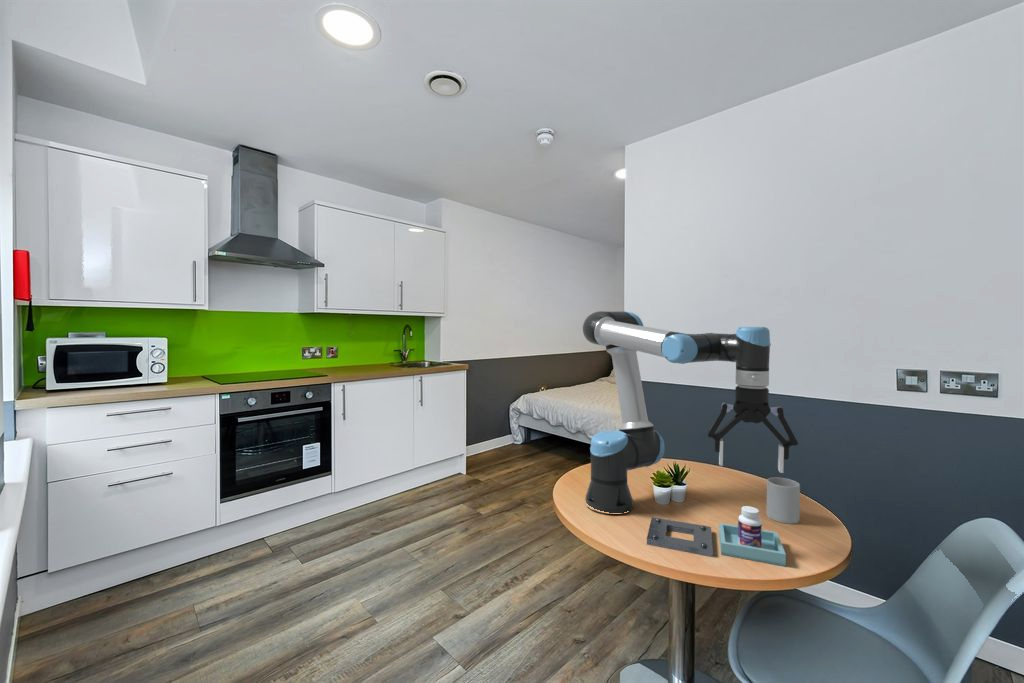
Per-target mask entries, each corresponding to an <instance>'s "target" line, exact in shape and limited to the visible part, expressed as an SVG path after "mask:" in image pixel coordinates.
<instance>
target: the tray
mask: <svg viewBox="0 0 1024 683" xmlns="http://www.w3.org/2000/svg"><path fill="white" fill-rule="evenodd" d="M718 538H719V548H720V555H722V556H726V557H732V558H738V559H744V560H749V561H753V562H760V563H764V564H770V565H775V566H781V567H786V566H787V565H786V562H787V554H786V552H785V549H784V546H783V543H782V542H781V538H780V536H779V534H778V532H777V531H770V530H766V529H762V545H761V548H757V547H751V546H746V545H740V544H738V525H736V524H735V525H734V524H728V523H722V522H719V523H718Z"/></svg>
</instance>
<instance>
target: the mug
mask: <svg viewBox="0 0 1024 683" xmlns="http://www.w3.org/2000/svg"><path fill="white" fill-rule="evenodd" d="M800 503H801V485H800V483H799V482H797V481H796V480H794V479H790V478H785V477H779V476H778V477H777V476H775V477H774V476H772V477H769V478H767V479H766V509H765V510H766V516H767V517H768V518H769V519H770V520H773V521H774V522H777V523H781V524H786V525H793V524H794V525H795V524H799V523H800V520H801V519H800V518H801V514H800V513H801V511H800V509H801V506H800V505H801V504H800Z"/></svg>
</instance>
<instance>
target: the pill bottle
mask: <svg viewBox="0 0 1024 683" xmlns="http://www.w3.org/2000/svg"><path fill="white" fill-rule="evenodd" d="M737 524H738V525H737V526H738V544H740V545H746V546H751V547H757V548H761V545H762V530H763V521H762V519H761V518H760V509H758V508H756V507H753V506H749V505H745V506H744V505H743V506H742V507H741V514H740V515H739V516H738V522H737Z"/></svg>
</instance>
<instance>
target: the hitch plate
mask: <svg viewBox="0 0 1024 683" xmlns="http://www.w3.org/2000/svg"><path fill="white" fill-rule="evenodd" d="M668 531H670V532H677V533H681V534H682V533H683V534H687V535H692V536H693V540H690V539H684V538H679V537H674V536H667V534H668V533H667V532H668ZM712 537H713V534H712V526H709V525H702V524H696V523H691V522H683V521H677V520H671V519H666V518H665V519H664V518H659V517H653V516H652V517H651V519H650V524H649V527H648V531H647V536H646V545H650V546H654V547H658V548H659V547H660V548H666V549H670V550H675V551H680V552H686V553H691V554H696V555H702V556H707V557H710V558H711V557H712V558H713V557H714V550H713V546H714V545H713V538H712Z"/></svg>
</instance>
